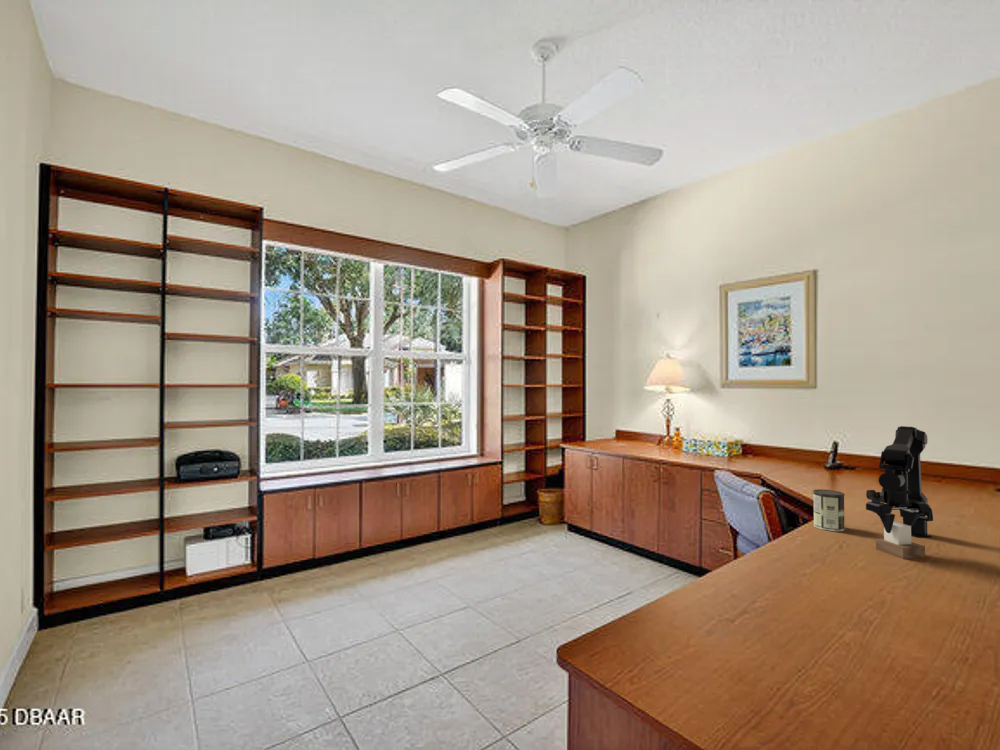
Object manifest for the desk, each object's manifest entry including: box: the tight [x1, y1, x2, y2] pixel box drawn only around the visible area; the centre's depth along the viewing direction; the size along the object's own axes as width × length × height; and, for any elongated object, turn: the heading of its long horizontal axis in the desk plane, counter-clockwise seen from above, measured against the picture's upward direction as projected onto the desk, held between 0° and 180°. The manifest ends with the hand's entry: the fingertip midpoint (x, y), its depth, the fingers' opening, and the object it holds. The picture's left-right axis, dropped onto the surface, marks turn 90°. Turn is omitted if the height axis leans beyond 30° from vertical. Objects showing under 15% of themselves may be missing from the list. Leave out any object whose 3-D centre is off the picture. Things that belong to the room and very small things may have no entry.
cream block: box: [883, 521, 912, 545], centre depth 160 cm, size 5×5×6 cm
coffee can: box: [812, 488, 846, 532], centre depth 188 cm, size 10×10×14 cm
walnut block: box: [875, 537, 926, 560], centre depth 159 cm, size 9×9×4 cm
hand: (897, 532), depth 160 cm, fingers open, 7 cm apart
